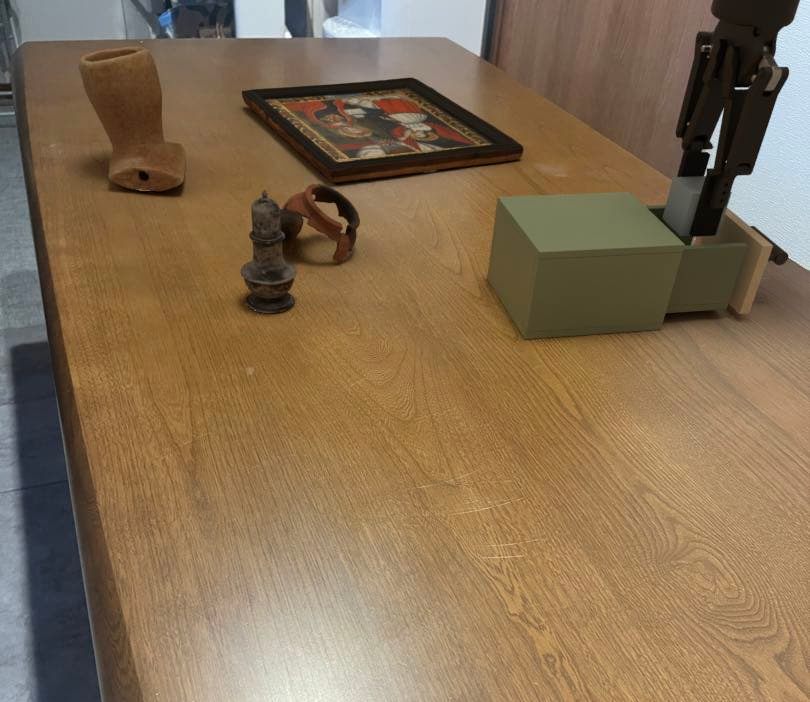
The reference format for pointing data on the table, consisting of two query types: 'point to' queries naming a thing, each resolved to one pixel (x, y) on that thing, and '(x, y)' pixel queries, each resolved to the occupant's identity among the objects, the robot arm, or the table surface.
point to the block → (685, 204)
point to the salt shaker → (268, 261)
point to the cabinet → (582, 264)
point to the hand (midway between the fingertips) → (691, 223)
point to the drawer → (721, 266)
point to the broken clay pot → (319, 218)
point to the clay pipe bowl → (132, 118)
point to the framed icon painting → (379, 128)
